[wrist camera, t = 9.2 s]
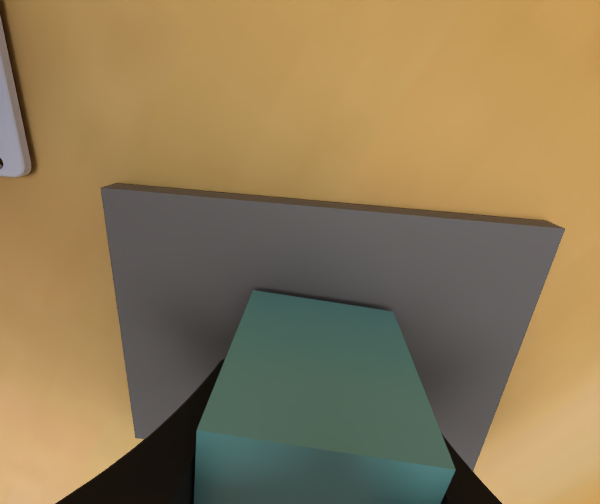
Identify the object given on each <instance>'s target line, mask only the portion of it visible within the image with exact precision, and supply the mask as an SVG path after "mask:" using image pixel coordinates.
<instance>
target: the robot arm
mask: <svg viewBox="0 0 600 504" xmlns="http://www.w3.org/2000/svg"><path fill="white" fill-rule="evenodd" d="M0 158H1V159H2V161H3V166H2V165H1V164H0V176H5V177H20V176H26V175H27V174H29V173H30V170H31V160H30V155H29V151H28V146H27V141H26V136H25V131H24V127H23V122H22V117H21V112H20V108H19V103H18V98H17V93H16V88H15V84H14V79H13V74H12V69H11V64H10V60H9V55H8V50H7V45H6V40H5V36H4V31H3V26H2V21H1V17H0ZM224 361H225V359H223V360H221V361H220V362H219V363H218V364H217V366H216V367H215V368H214V370H213V371H212V372H211V373H210V374H209V376H208V377H207V378H206V379H205V380H204V381H203V383H202V384H201V385H200V386H199V387H198V388H197V389H196V390H195V391H194V393H193V394H192V395H191V396H190V397H189V398H188V399H187V400H186V401H185V402H184V403H183V404H182V405H181V406H180V407H179V408H178V409H177V410H176V411H175V412H174V413H173V414H172V415H171V416H170V417H169V418H168V419H167V420H166V421H165V422H163V423H162V424H161V425H160V426H159V427H158V428H157V429H156V430H155V431H154V432H152V433H151V434H150V435H149V436H148V437H147V438H145V439H144V440H143V441H142V442H141V443H139V444H138V445H137V446H136V447H135V448H133V449H132V450H131V451H130V452H128V453H127V454H126V455H124V456H123V457H122V458H120V459H119V460H118V461H117V462H115V463H114V464H113V465H111V466H110V467H109V468H107V469H106V470H105V471H103V472H102V473H100V474H99V475H98V476H96V477H95V478H93V479H92V480H90V481H89V482H87V483H86V484H84V485H83V486H81V487H80V488H78V489H77V490H75V491H74V492H72V493H71V494H69V495H68V496H66V497H65V498H63V499H62V500H60V501H59V502H57V503H56V504H194V483H195V458H196V432H197V428H198V425H199V423H200V420H201V418H202V415H203V413H204V410H205V408H206V406H207V403H208V401H209V398H210V396H211V393H212V391H213V388H214V386H215V383H216V381H217V378H218V376H219V373H220V371H221V368H222V366H223V363H224ZM441 434H442V433H441ZM442 436H443V434H442ZM443 439H444V441H445V444H446V446H447V449H448V451H449V454H450V456H451V459H452V462H453V464H454V467H455V469H456V470H455V473H454V475H453V477H452V479H451V482H450V484H449V486H448V488H447V490H446V493H445V495H444V497H443V499H442V502H441V504H502V503H501V502H500V501H499V500H498V499H497V498H496V497H495V496H494V494H493V493H492V492H491V491H490V490H489V489H488V488H487V487H486V486H485V485H484V484H483V483H482V481H481V480H480V479H479V478H478V477H477V476H476V475H475V473H474V472H473V471H472V470H471V469H470V468H469V466H468V465H467V464H466V463H465V462H464V461H463V459H462V458H461V457H460V456H459V455H458V453H457V452H456V451H455V450H454V448H453V447H452V446H451V445H450V443H449V442H448V441H447V439H446V438H445V437H444V436H443Z"/></svg>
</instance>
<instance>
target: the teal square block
mask: <svg viewBox="0 0 600 504" xmlns="http://www.w3.org/2000/svg"><path fill="white" fill-rule="evenodd" d="M455 470H456V469H455V467H454V464H453V462H452V459H451V456H450V454H449V451H448V449H447V446H446V444H445V441H444V439H443V436H442V434H441V431H440V429H439V426H438V424H437V421H436V418H435V416H434V413H433V411H432V408H431V406H430V403H429V401H428V398H427V396H426V393H425V391H424V388H423V386H422V383H421V380H420V378H419V375H418V373H417V370H416V368H415V365H414V363H413V360H412V358H411V355H410V353H409V350H408V348H407V345H406V342H405V340H404V337H403V335H402V332H401V330H400V327H399V325H398V322H397V320H396V317H395V315H394V312H393V311H387V310H380V309H373V308H367V307H360V306H354V305H347V304H341V303H334V302H328V301H321V300H315V299H308V298H301V297H295V296H288V295H282V294H275V293H269V292H262V291H256V290H253V292H252V294H251V296H250V299H249V301H248V304H247V306H246V309H245V311H244V314H243V316H242V319H241V321H240V324H239V326H238V329H237V331H236V334H235V336H234V339H233V341H232V344H231V346H230V349H229V351H228V353H227V356H226V358H225V361H224V363H223V366H222V368H221V371H220V373H219V376H218V378H217V381H216V383H215V386H214V388H213V391H212V393H211V396H210V398H209V401H208V403H207V406H206V408H205V410H204V413H203V415H202V418H201V420H200V423H199V425H198V428H197V432H196V458H195V483H194V504H441V502H442V499H443V497H444V495H445V493H446V490H447V488H448V486H449V484H450V482H451V479H452V477H453V475H454V473H455Z"/></svg>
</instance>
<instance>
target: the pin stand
mask: <svg viewBox="0 0 600 504" xmlns="http://www.w3.org/2000/svg"><path fill="white" fill-rule="evenodd" d="M101 194H102V201H103V208H104V215H105V223H106V230H107V237H108V244H109V251H110V258H111V266H112V273H113V280H114V287H115V294H116V302H117V309H118V316H119V323H120V330H121V338H122V345H123V352H124V359H125V366H126V373H127V381H128V388H129V395H130V402H131V409H132V417H133V424H134V431H135V438H140V439H145V438H147V437H148V436H149V435H150V434H151V433H152V432H154V431H155V430H156V429H157V428H158V427H159V426H160V425H161V424H162V423H163V422H165V421H166V420H167V419H168V418H169V417H170V416H171V415H172V414H173V413H174V412H175V411H176V410H177V409H178V408H179V407H180V406H181V405H182V404H183V403H184V402H185V401H186V400H187V399H188V398H189V397H190V396H191V395H192V394H193V393H194V391H195V390H196V389H197V388H198V387H199V386H200V385H201V384H202V383H203V381H204V380H205V379H206V378H207V377H208V376H209V374H210V373H211V372H212V371H213V370H214V368H215V367H216V366H217V364H218V363H219V362H220V361H221V360H223V359H225V358H226V356H227V353H228V351H229V349H230V346H231V344H232V341H233V339H234V336H235V334H236V331H237V329H238V326H239V324H240V321H241V319H242V316H243V314H244V311H245V309H246V306H247V304H248V301H249V299H250V296H251V294H252V292H253V290H256V291H262V292H269V293H275V294H282V295H288V296H295V297H301V298H308V299H315V300H321V301H328V302H334V303H341V304H347V305H354V306H360V307H367V308H373V309H380V310H387V311H393V312H394V315H395V317H396V320H397V322H398V325H399V327H400V330H401V332H402V335H403V337H404V340H405V342H406V345H407V348H408V350H409V353H410V355H411V358H412V360H413V363H414V365H415V368H416V370H417V373H418V375H419V378H420V380H421V383H422V386H423V388H424V391H425V393H426V396H427V398H428V401H429V403H430V406H431V408H432V411H433V413H434V416H435V418H436V421H437V424H438V426H439V429H440V431H441V433H442V434H443V436H444V437H445V438H446V439H447V441H448V442H449V443H450V445H451V446H452V447H453V448H454V450H455V451H456V452H457V453H458V455H459V456H460V457H461V458H462V459H463V461H464V462H465V463H466V464H467V465H468V466H469V468H470V469H471V470H472V471H473V470H474V467H475V465H476V462H477V459H478V457H479V454H480V451H481V449H482V446H483V444H484V441H485V438H486V436H487V433H488V430H489V428H490V425H491V423H492V420H493V417H494V415H495V412H496V409H497V407H498V404H499V402H500V399H501V396H502V394H503V391H504V388H505V386H506V383H507V380H508V378H509V375H510V373H511V370H512V367H513V365H514V362H515V359H516V357H517V354H518V352H519V349H520V346H521V344H522V341H523V338H524V336H525V333H526V331H527V328H528V325H529V323H530V320H531V317H532V315H533V312H534V310H535V307H536V304H537V302H538V299H539V296H540V294H541V291H542V288H543V286H544V283H545V281H546V278H547V275H548V273H549V270H550V267H551V265H552V262H553V260H554V257H555V254H556V252H557V249H558V246H559V244H560V241H561V239H562V236H563V233H564V231H565V228H562V227H560V226H557V225H555V224H553V223H550V222H548V221H543V220H531V219H520V218H509V217H497V216H486V215H475V214H463V213H452V212H440V211H429V210H418V209H406V208H395V207H383V206H372V205H361V204H349V203H338V202H326V201H315V200H304V199H292V198H281V197H270V196H258V195H247V194H235V193H224V192H213V191H201V190H190V189H178V188H167V187H156V186H144V185H133V184H122V183H116V184H112V185H109V186H105V187H102V188H101Z"/></svg>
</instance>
